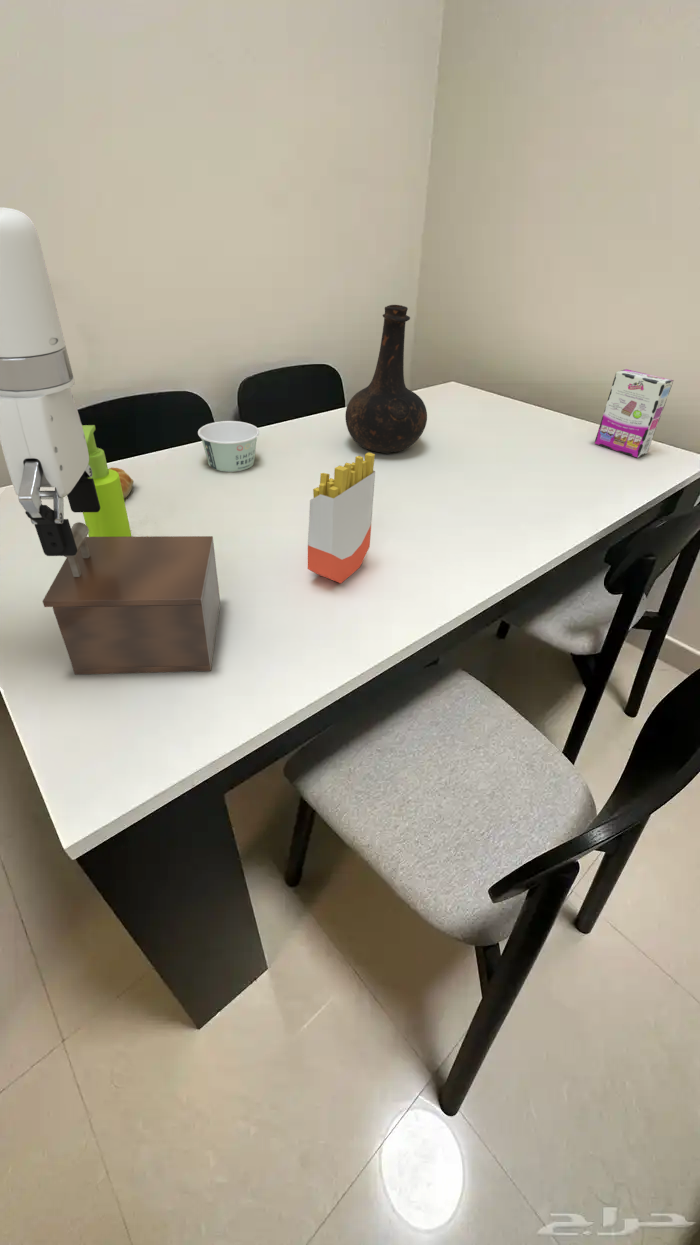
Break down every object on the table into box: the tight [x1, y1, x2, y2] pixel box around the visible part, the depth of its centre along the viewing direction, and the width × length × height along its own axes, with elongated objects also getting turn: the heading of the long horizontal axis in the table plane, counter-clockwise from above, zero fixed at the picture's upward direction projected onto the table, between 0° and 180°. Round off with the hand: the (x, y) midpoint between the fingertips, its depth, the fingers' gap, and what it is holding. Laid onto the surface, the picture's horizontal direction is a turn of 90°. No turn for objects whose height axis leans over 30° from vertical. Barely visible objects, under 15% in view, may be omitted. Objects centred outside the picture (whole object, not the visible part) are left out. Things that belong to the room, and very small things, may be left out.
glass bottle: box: [345, 304, 428, 454], centre depth 122 cm, size 18×18×28 cm
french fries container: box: [307, 451, 376, 584], centre depth 83 cm, size 5×11×18 cm, turn 148°
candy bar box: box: [594, 368, 675, 459], centre depth 131 cm, size 11×5×16 cm, turn 42°
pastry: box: [108, 467, 134, 500], centre depth 104 cm, size 9×7×4 cm
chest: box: [52, 542, 221, 675], centre depth 72 cm, size 16×14×10 cm
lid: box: [42, 522, 214, 608], centre depth 67 cm, size 17×14×5 cm
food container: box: [197, 420, 260, 473], centre depth 117 cm, size 12×12×6 cm
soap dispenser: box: [82, 424, 133, 537], centre depth 83 cm, size 6×7×20 cm
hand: (74, 531), depth 65 cm, fingers open, 9 cm apart
